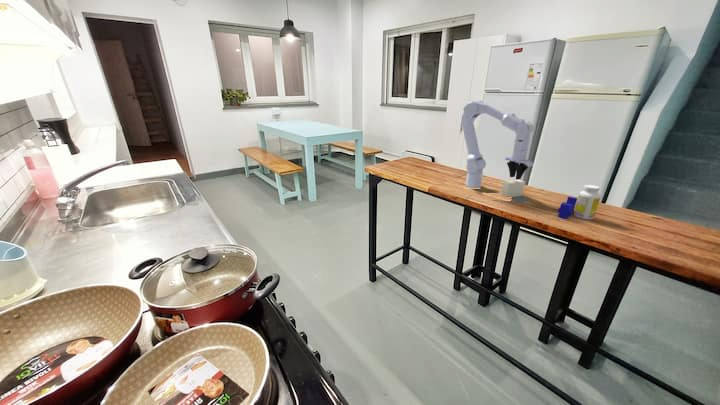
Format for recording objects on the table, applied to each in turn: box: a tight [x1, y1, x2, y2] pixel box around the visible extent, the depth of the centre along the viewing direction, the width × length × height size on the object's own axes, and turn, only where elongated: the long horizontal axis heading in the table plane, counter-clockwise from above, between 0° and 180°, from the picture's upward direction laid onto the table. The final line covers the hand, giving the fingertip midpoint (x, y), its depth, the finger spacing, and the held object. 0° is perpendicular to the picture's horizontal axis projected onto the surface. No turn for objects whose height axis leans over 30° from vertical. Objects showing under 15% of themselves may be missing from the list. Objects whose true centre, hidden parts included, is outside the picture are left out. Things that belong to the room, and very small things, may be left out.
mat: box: [509, 193, 533, 204], centre depth 135 cm, size 13×20×1 cm, turn 79°
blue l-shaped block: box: [557, 196, 578, 220], centre depth 116 cm, size 12×4×6 cm, turn 134°
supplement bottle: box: [573, 184, 601, 220], centre depth 111 cm, size 7×7×13 cm
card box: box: [501, 179, 526, 197], centre depth 135 cm, size 4×9×7 cm, turn 104°
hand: (515, 178), depth 133 cm, fingers open, 3 cm apart
